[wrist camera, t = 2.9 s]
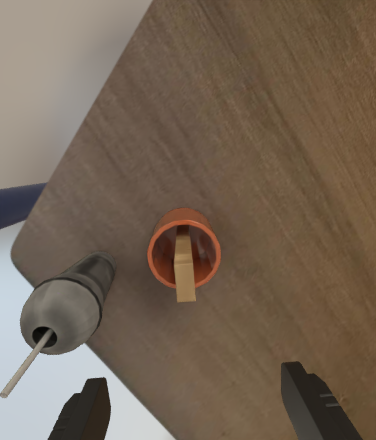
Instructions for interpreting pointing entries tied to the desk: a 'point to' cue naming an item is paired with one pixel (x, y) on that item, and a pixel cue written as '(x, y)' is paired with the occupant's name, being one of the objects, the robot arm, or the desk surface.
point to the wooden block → (184, 266)
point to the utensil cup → (200, 245)
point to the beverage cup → (65, 309)
